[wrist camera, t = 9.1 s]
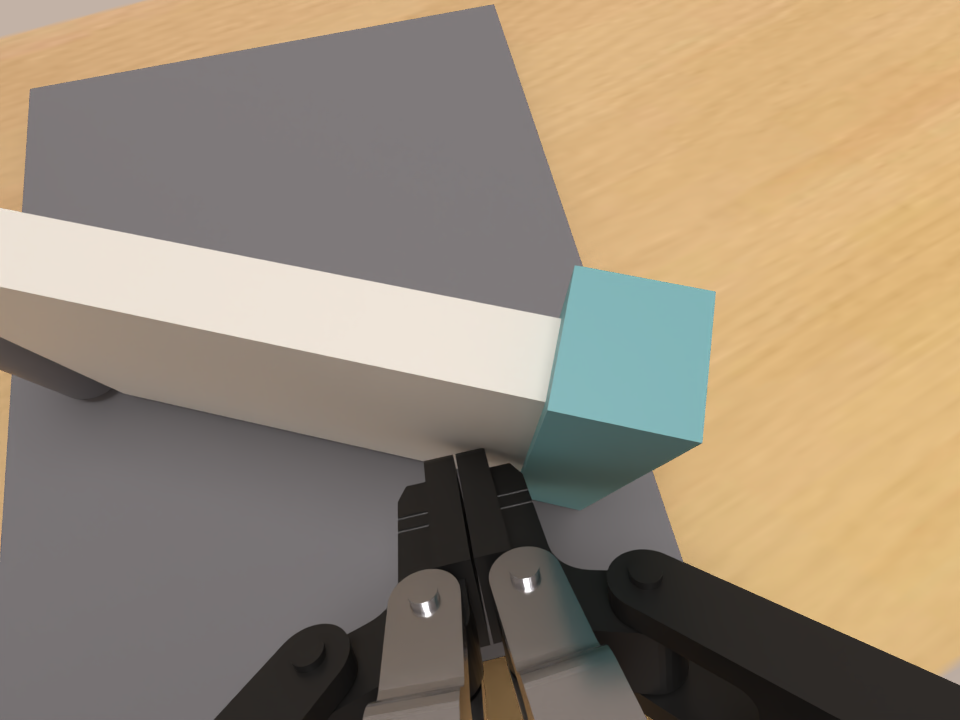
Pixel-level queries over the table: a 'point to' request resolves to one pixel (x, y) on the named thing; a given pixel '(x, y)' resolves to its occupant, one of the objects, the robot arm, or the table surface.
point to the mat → (245, 445)
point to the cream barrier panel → (364, 354)
